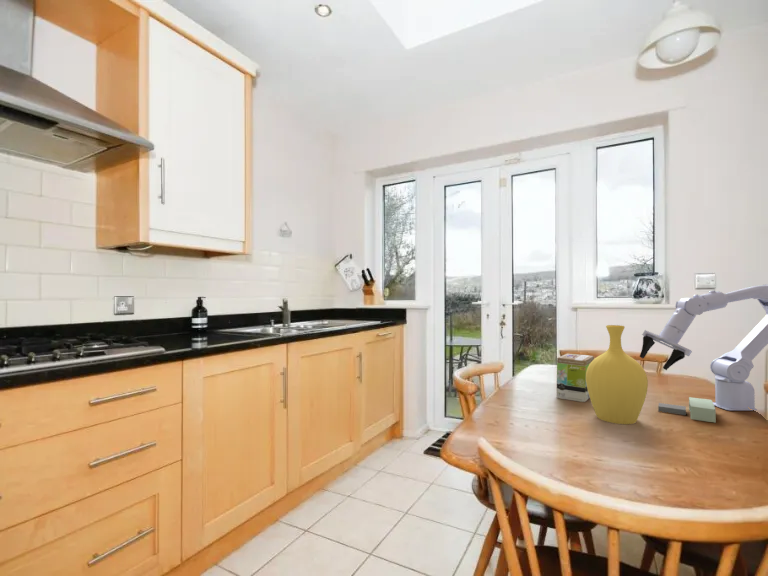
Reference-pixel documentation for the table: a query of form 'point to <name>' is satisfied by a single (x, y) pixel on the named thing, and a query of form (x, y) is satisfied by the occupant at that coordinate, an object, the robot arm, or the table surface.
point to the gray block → (672, 408)
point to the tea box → (573, 377)
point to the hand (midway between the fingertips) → (652, 363)
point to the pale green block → (702, 409)
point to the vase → (616, 382)
